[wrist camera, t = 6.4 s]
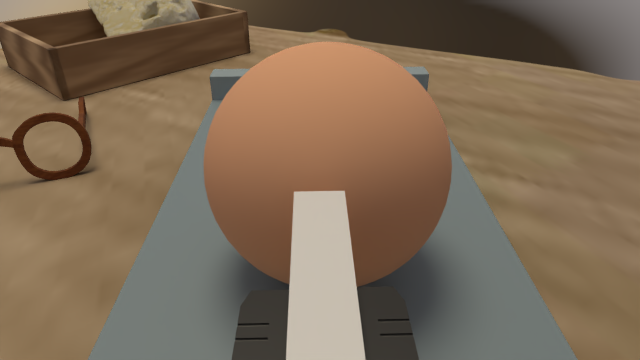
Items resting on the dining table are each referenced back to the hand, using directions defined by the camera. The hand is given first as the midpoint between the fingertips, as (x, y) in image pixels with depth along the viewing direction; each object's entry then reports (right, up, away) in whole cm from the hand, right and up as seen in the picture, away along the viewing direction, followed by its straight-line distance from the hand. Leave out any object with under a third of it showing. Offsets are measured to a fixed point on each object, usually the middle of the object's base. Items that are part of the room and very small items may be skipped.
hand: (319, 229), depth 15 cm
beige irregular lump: (-23, +16, +46) cm, 54 cm away
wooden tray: (-23, +16, +45) cm, 53 cm away
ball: (0, +2, +5) cm, 6 cm away
